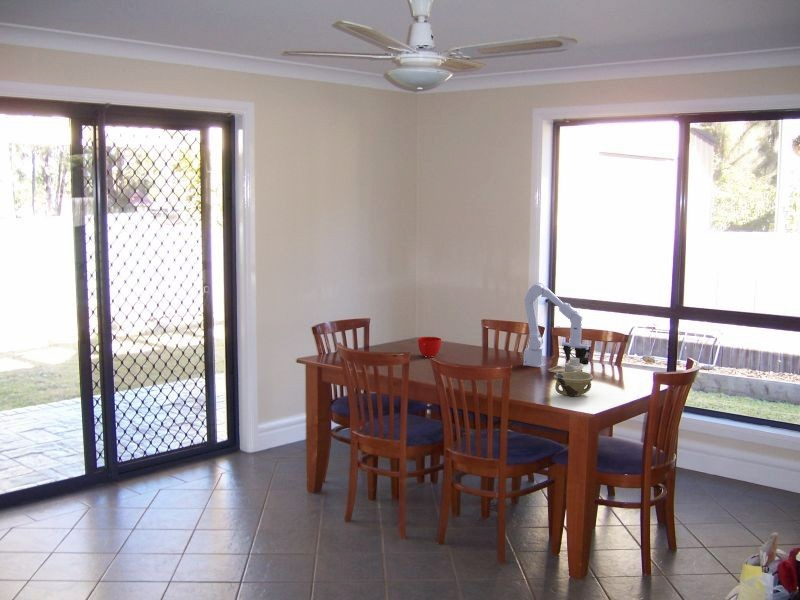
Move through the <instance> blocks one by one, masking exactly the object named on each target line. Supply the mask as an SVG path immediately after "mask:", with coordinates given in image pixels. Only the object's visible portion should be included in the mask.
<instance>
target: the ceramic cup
mask: <svg viewBox="0 0 800 600" xmlns="http://www.w3.org/2000/svg"><path fill="white" fill-rule="evenodd" d="M441 343H442V338H440V337H436V336H422V337H419V338H417V344H418V345H417V346H418V350H419V353H421V355H422V356H423V357H424V356H427V357H426V358H429V356H430V357H431V356H435V355H436V356H437V355H438V354H439V352H440V350H441ZM436 356H435V357H436ZM431 358H432V357H431Z"/></svg>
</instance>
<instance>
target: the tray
mask: <svg viewBox="0 0 800 600" xmlns="http://www.w3.org/2000/svg"><path fill="white" fill-rule="evenodd" d="M547 372H551V373H556V374H559V373H565V366H563V365H557V366H553V367H551V368H548V369H547ZM574 372H583V369H576V368H574Z"/></svg>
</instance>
